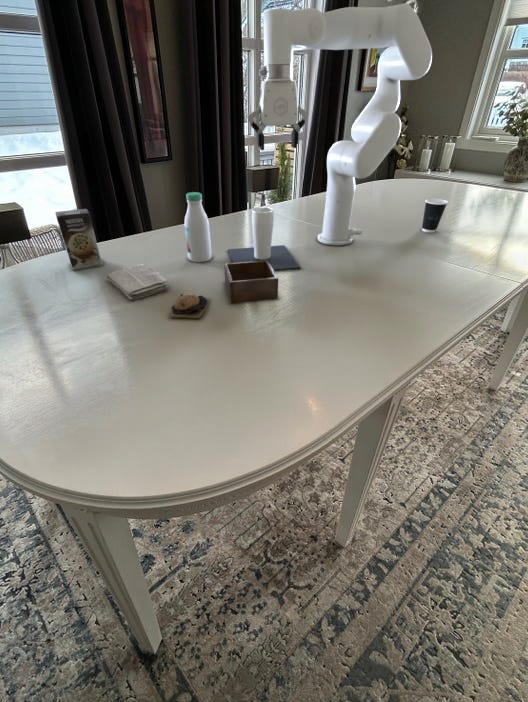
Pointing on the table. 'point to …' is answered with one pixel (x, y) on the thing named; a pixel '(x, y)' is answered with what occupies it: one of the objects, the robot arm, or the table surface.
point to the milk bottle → (197, 229)
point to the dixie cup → (433, 214)
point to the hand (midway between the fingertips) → (277, 148)
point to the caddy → (250, 281)
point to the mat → (277, 260)
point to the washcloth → (138, 281)
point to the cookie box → (79, 238)
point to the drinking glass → (262, 231)
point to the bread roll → (189, 306)
